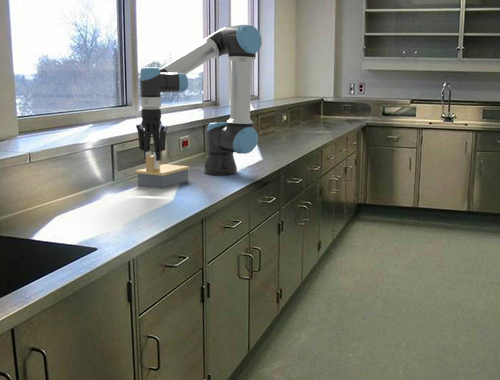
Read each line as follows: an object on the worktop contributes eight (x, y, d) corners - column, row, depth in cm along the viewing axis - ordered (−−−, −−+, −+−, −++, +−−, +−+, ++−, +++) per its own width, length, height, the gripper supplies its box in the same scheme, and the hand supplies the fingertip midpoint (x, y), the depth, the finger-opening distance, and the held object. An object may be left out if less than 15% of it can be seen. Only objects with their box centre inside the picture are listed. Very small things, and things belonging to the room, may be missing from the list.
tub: (164, 180, 248) (163, 166, 247) (188, 183, 243) (187, 168, 242) (138, 187, 233) (137, 173, 231) (163, 190, 227) (162, 175, 226)
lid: (163, 168, 248) (163, 150, 246) (189, 170, 242) (189, 152, 241) (136, 175, 231) (135, 155, 230) (162, 177, 226) (162, 157, 224)
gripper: (128, 108, 226) (130, 168, 230) (162, 109, 219) (164, 171, 223) (140, 107, 232) (142, 165, 237) (174, 108, 225) (175, 168, 230)
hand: (152, 168), depth 230 cm, fingers closed on lid, 3 cm apart
